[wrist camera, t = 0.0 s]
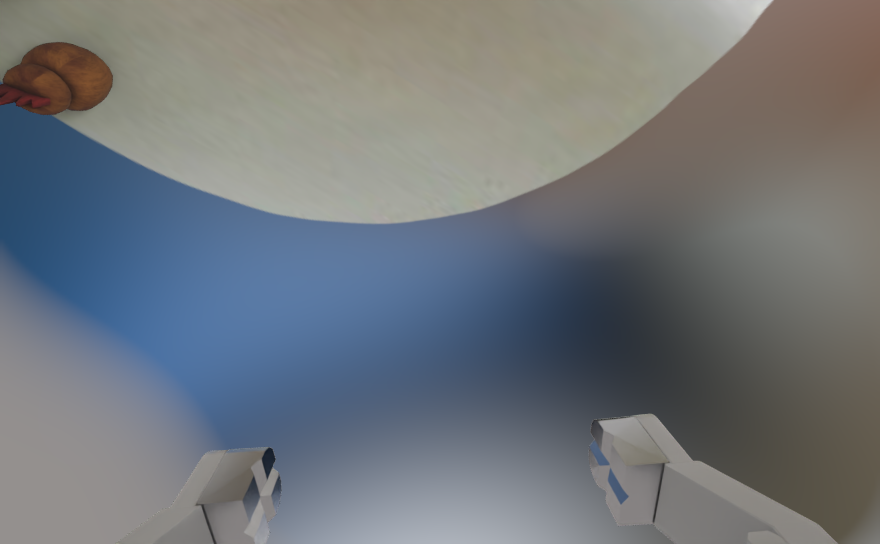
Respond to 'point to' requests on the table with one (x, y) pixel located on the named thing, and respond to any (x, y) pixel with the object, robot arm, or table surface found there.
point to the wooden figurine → (57, 80)
